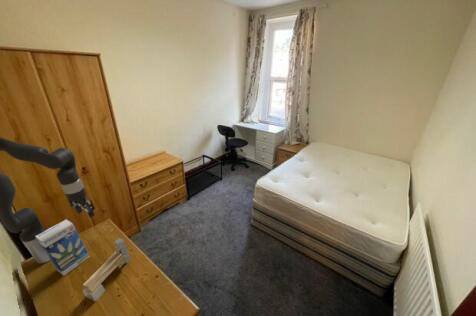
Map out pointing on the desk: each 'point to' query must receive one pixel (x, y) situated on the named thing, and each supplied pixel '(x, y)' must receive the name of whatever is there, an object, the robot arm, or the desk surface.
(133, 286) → the desk surface
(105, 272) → the pine rail
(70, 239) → the string lights box
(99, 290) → the bracket stand
